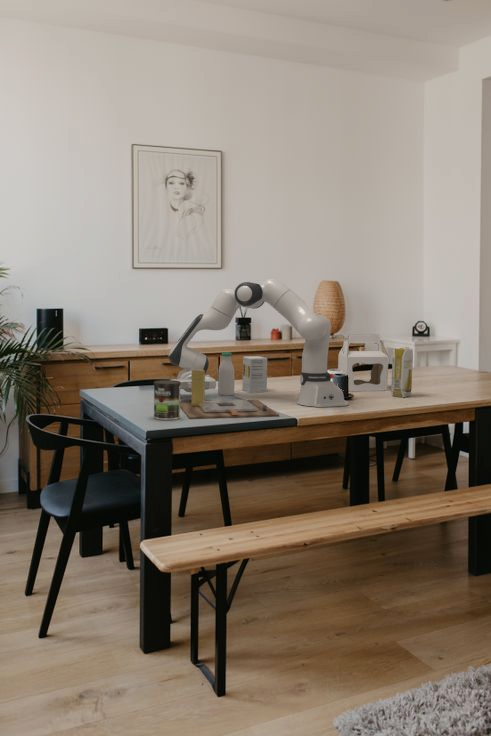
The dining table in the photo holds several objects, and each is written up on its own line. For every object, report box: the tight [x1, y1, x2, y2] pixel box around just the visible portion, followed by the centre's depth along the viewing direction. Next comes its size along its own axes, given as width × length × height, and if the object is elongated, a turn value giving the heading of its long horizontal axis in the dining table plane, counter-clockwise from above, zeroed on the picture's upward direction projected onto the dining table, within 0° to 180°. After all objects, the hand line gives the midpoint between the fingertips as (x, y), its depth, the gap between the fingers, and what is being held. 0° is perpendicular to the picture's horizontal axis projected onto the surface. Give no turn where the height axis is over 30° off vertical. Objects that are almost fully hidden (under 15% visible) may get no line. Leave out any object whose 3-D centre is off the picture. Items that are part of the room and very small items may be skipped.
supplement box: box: [242, 355, 268, 394], centre depth 339 cm, size 10×9×17 cm
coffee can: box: [153, 379, 181, 421], centre depth 268 cm, size 10×10×14 cm
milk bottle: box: [217, 351, 235, 397], centre depth 326 cm, size 8×8×20 cm
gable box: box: [337, 333, 389, 393], centre depth 350 cm, size 22×13×28 cm, turn 102°
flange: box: [191, 370, 258, 415], centre depth 283 cm, size 25×29×15 cm
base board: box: [180, 399, 280, 420], centre depth 288 cm, size 36×36×3 cm
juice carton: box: [390, 345, 414, 398], centre depth 329 cm, size 9×8×24 cm
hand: (195, 386), depth 294 cm, fingers closed
